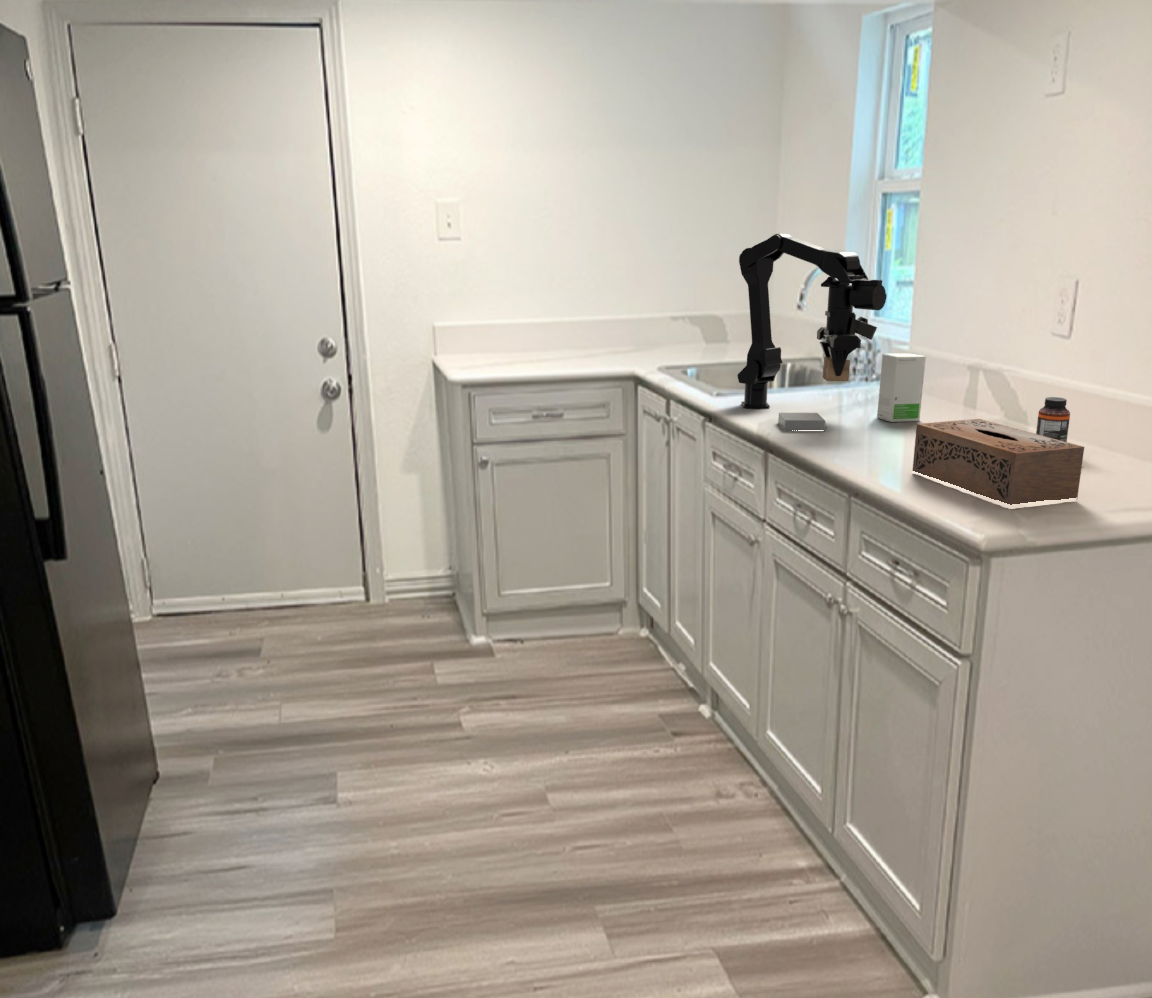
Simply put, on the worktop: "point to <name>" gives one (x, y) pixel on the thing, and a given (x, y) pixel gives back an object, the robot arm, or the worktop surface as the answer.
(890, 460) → the worktop surface
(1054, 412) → the supplement bottle
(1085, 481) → the worktop surface
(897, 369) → the skincare box
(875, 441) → the worktop surface
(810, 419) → the base
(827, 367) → the walnut cube
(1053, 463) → the tissue box cover
